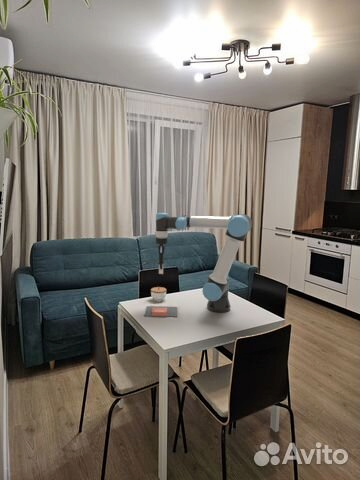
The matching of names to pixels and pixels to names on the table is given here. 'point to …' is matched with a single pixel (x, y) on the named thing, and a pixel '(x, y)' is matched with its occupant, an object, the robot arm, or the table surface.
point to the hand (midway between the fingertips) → (161, 273)
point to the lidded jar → (158, 293)
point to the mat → (170, 310)
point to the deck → (159, 312)
